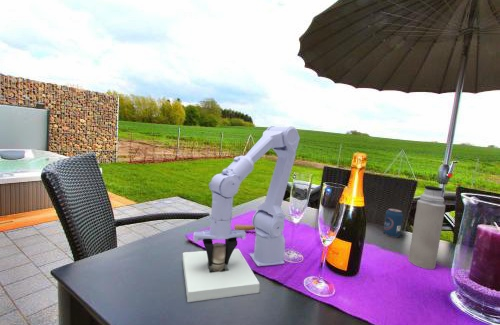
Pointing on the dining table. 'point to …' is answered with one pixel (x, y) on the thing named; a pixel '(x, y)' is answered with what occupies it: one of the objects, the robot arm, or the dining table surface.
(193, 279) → the hole board
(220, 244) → the birch peg
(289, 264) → the dining table surface
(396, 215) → the soda can
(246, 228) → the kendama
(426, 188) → the thermos bottle
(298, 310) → the dining table surface
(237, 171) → the robot arm
